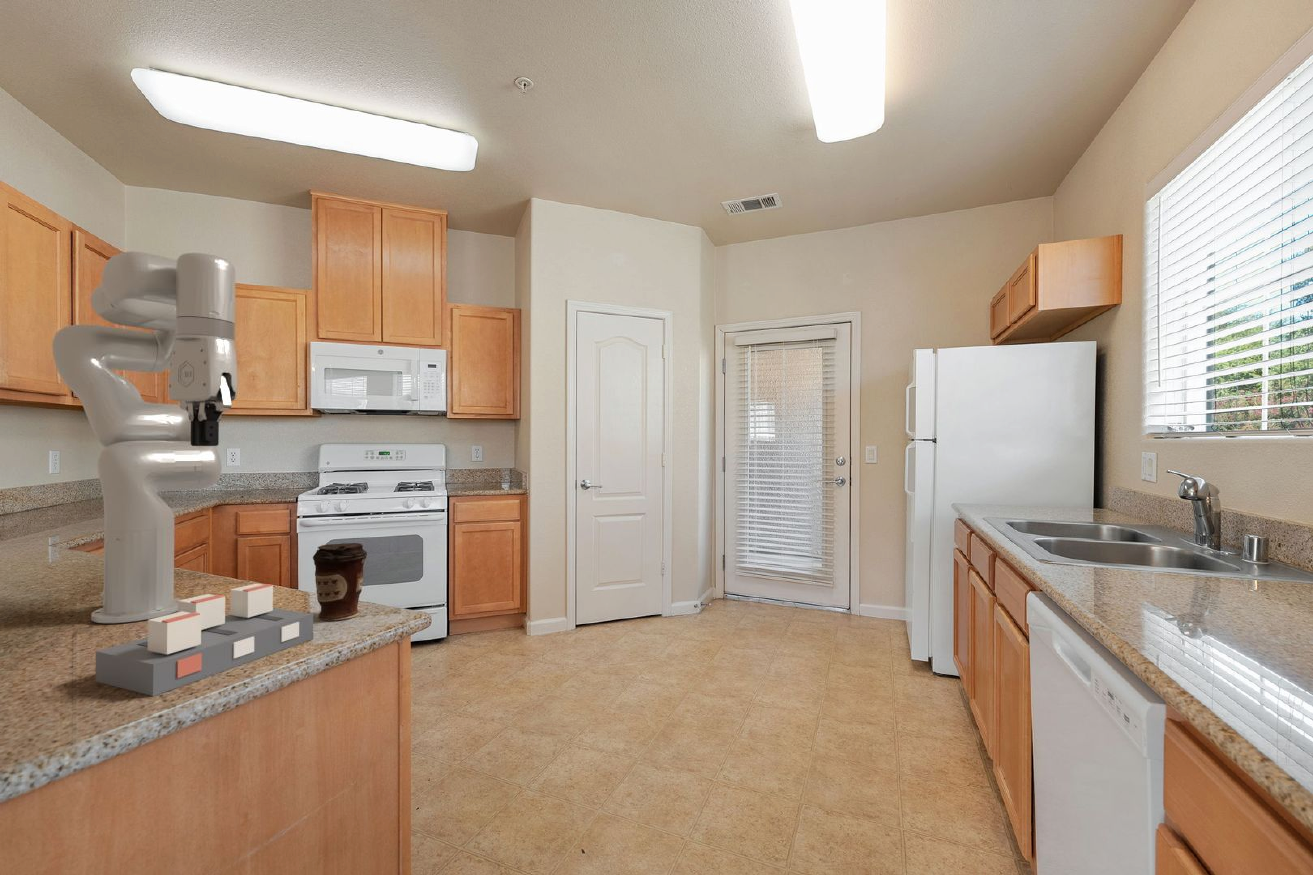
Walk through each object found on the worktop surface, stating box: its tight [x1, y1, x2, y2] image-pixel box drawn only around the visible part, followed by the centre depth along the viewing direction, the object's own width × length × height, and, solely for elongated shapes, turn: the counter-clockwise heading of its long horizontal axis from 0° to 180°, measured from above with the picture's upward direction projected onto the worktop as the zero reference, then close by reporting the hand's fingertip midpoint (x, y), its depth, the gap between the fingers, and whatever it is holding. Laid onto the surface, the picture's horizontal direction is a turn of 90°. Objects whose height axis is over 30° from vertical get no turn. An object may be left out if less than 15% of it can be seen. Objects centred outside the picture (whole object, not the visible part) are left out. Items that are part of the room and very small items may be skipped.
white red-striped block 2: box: [229, 583, 274, 618], centre depth 91 cm, size 4×4×4 cm
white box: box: [147, 611, 201, 654], centre depth 76 cm, size 4×4×4 cm
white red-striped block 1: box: [177, 593, 226, 630], centre depth 85 cm, size 4×4×4 cm
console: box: [95, 607, 314, 697], centre depth 84 cm, size 12×22×4 cm, turn 160°
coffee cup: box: [312, 542, 368, 621], centre depth 103 cm, size 9×8×13 cm
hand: (204, 445), depth 92 cm, fingers closed
